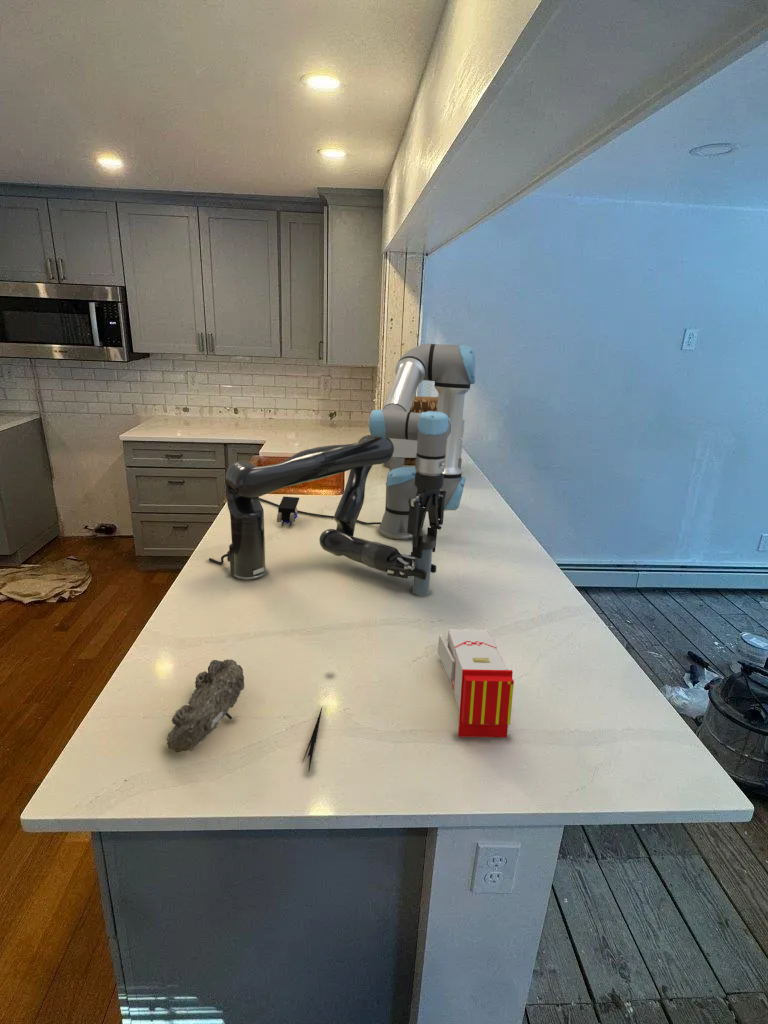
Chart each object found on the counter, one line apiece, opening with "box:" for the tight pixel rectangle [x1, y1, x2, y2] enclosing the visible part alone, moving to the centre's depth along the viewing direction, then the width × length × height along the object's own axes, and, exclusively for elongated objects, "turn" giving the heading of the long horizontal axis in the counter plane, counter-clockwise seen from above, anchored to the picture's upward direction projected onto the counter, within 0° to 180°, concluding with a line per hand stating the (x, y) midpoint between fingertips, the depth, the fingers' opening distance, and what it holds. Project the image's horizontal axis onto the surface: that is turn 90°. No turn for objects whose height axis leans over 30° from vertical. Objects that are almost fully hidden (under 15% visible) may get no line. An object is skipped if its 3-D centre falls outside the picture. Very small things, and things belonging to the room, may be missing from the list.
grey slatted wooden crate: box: [382, 396, 465, 472], centre depth 268 cm, size 34×33×41 cm
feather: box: [301, 673, 332, 771], centre depth 108 cm, size 2×28×2 cm
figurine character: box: [276, 495, 300, 527], centre depth 205 cm, size 7×8×15 cm
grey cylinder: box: [412, 549, 433, 597], centre depth 157 cm, size 5×5×16 cm
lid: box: [422, 534, 435, 550], centre depth 154 cm, size 6×6×2 cm
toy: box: [437, 628, 515, 738], centre depth 117 cm, size 12×13×30 cm
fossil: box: [166, 658, 245, 754], centre depth 106 cm, size 22×10×15 cm
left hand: (430, 572), depth 156 cm, fingers closed on grey cylinder, 4 cm apart
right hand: (423, 553), depth 156 cm, fingers closed on lid, 5 cm apart
